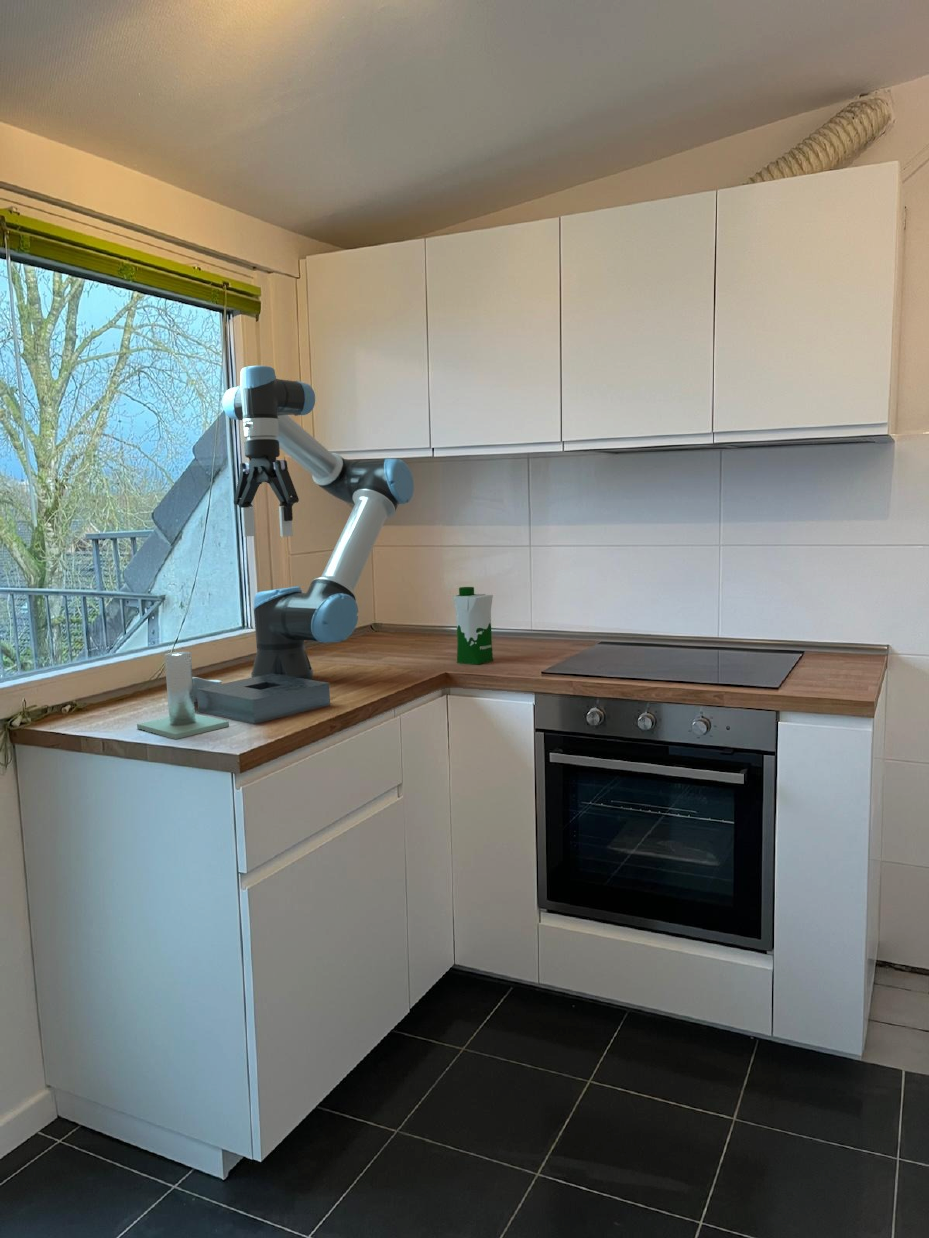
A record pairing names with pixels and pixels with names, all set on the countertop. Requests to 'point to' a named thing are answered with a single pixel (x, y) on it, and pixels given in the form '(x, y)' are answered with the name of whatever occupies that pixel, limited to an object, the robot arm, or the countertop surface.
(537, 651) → the countertop surface
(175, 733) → the mat
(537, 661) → the countertop surface
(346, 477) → the robot arm
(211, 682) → the white curved piece
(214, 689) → the housing
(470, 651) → the milk carton
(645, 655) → the countertop surface
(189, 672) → the grey tall block
